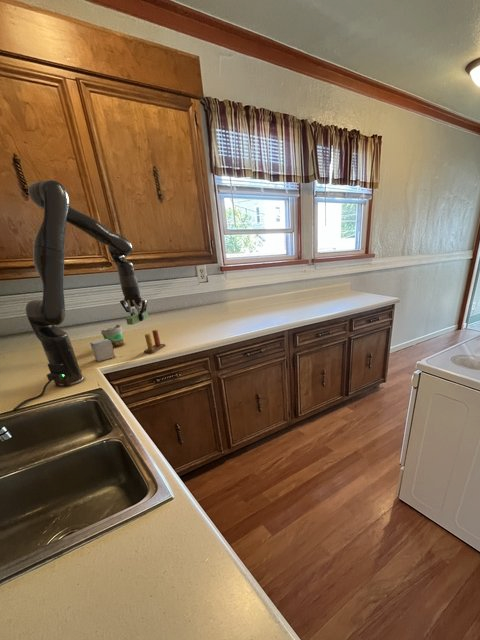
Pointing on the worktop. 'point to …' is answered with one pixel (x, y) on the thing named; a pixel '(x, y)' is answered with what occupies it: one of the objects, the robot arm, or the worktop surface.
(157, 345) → the rod stand
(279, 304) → the worktop surface
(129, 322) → the bar
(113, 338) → the food container
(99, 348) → the medicine box
